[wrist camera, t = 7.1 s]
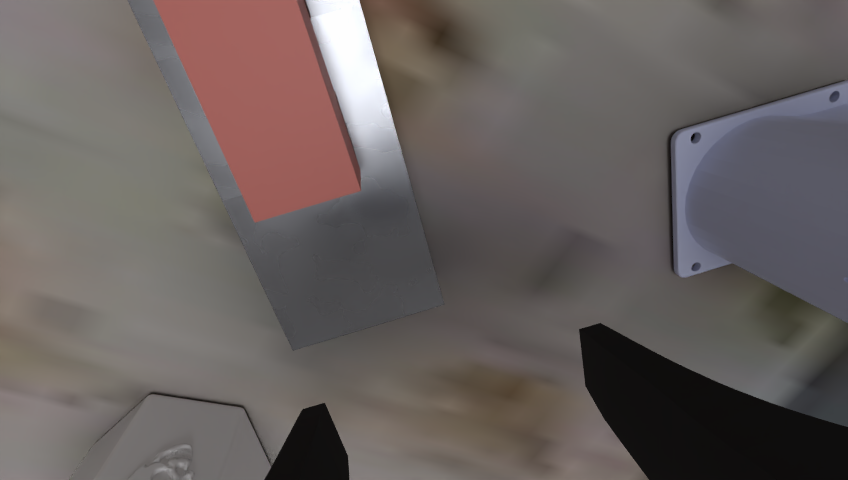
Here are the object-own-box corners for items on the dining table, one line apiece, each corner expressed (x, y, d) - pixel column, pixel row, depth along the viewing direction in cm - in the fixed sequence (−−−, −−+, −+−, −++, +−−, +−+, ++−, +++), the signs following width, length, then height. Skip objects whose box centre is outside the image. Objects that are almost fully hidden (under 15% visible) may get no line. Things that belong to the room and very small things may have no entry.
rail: (258, -345, 13) (237, -435, 11) (435, 279, 21) (444, 304, 19) (27, -288, 13) (-47, -368, 10) (300, 320, 21) (292, 350, 19)
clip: (278, -90, 15) (241, -163, 10) (360, 160, 18) (361, 191, 14) (178, -63, 15) (96, -124, 10) (281, 183, 18) (254, 222, 14)
